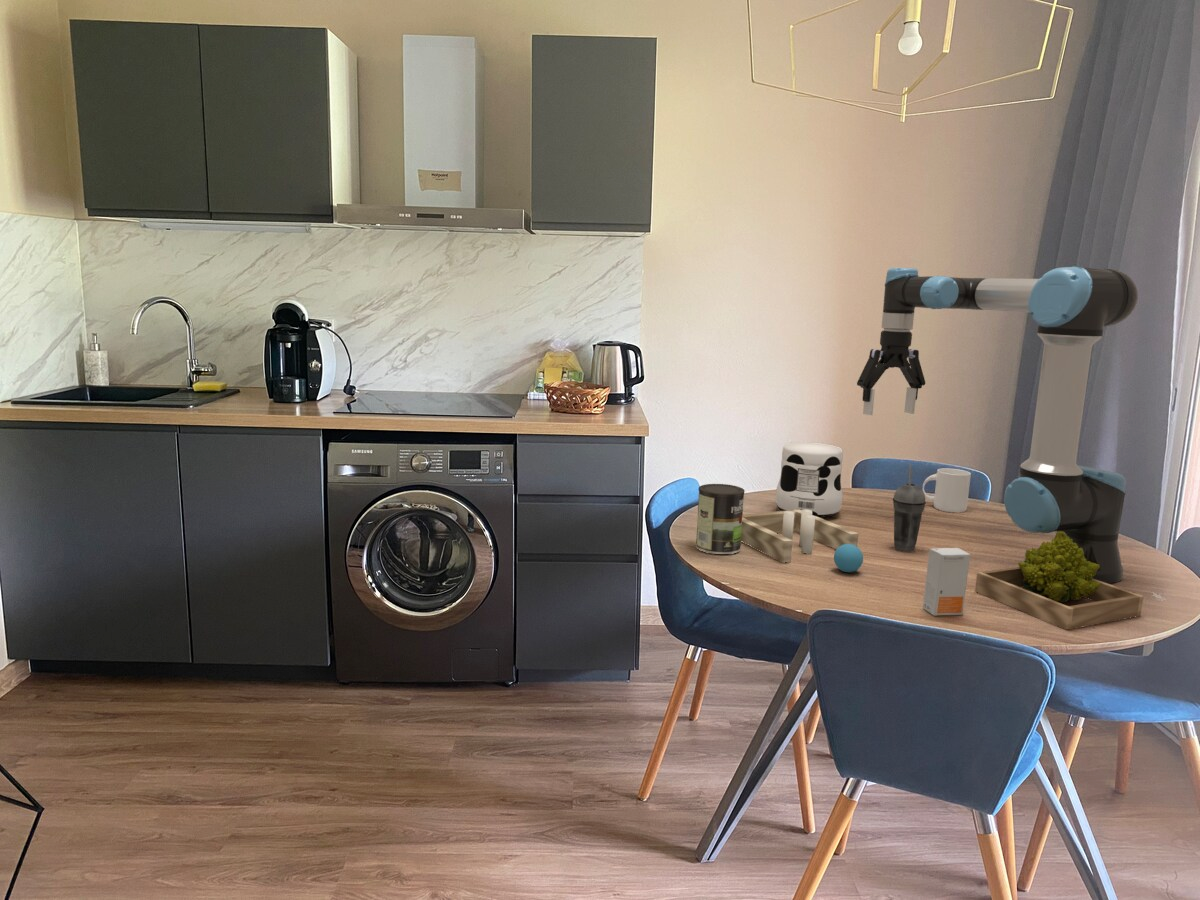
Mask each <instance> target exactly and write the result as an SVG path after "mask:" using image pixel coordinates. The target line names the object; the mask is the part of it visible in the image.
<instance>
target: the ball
mask: <svg viewBox="0 0 1200 900" xmlns="http://www.w3.org/2000/svg"><path fill="white" fill-rule="evenodd" d="M833 562H834V564H835V566H836V568H837V569H839V570H840V571H842V572H844V573H853V572H856V571H858V570H859V569H860V568H861V567H862V565H863V562H864V554H863V552H862V551H861V549H860V548H859V547H858V546H857V547H856V546H855V545H852V544H844V545H841V546H840V547H838V548H837V550H836V549H835V551H834V554H833Z"/></svg>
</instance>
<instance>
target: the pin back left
mask: <svg viewBox="0 0 1200 900" xmlns="http://www.w3.org/2000/svg"><path fill="white" fill-rule="evenodd" d="M793 526H794V512H792V511H784V516H783V529H782V533H781V535H782V536H784V537H786V538H788V539H790V540H792V541H793V538H794V537H793V536H794V535H793V534H794V532H793Z"/></svg>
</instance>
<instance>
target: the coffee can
mask: <svg viewBox="0 0 1200 900" xmlns="http://www.w3.org/2000/svg"><path fill="white" fill-rule="evenodd" d="M745 492H746V491H745V489H744V487H743V488H742V487H740V486H738V485H732V484H725V483H707V484H702V485H699V486H698V503H697V504H698V505H697V520H696V521H697V526H696V542H695V548H696V547H697V548H698V549H700V550H702V551H705V552H708V553H715V554H732V553H736V552H738V551H740V552H741V550H740V549H741V545H742V544H741V543H742V542H741V529H742V515H743V512H744V499H745ZM708 553H707V554H708ZM736 554H737V553H736ZM732 555H733V554H732Z"/></svg>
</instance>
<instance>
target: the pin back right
mask: <svg viewBox="0 0 1200 900" xmlns="http://www.w3.org/2000/svg"><path fill="white" fill-rule="evenodd" d="M804 515H812V510H807V509H804V510H802V513H801V526H800V533H799V539H798V540H799V541H798V547H800V548H802V538H803V525H804Z"/></svg>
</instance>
